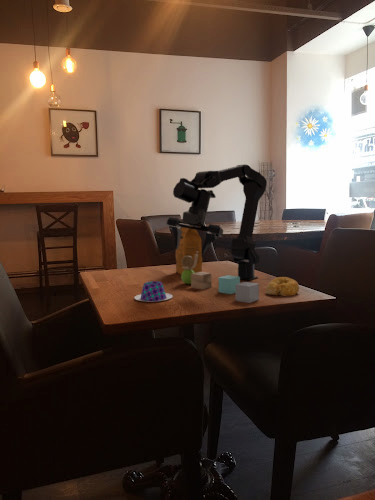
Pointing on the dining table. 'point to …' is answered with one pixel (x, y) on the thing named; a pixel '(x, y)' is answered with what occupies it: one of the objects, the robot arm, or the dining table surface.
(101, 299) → the dining table surface
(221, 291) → the teal block
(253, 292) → the grey cube
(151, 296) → the pudding
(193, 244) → the coffee package
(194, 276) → the walnut block
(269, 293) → the bagel
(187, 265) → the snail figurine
